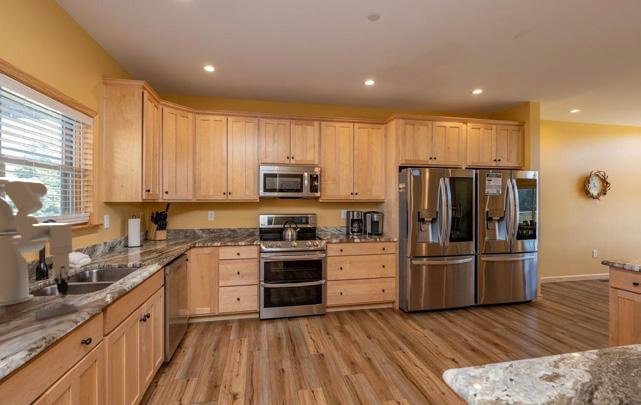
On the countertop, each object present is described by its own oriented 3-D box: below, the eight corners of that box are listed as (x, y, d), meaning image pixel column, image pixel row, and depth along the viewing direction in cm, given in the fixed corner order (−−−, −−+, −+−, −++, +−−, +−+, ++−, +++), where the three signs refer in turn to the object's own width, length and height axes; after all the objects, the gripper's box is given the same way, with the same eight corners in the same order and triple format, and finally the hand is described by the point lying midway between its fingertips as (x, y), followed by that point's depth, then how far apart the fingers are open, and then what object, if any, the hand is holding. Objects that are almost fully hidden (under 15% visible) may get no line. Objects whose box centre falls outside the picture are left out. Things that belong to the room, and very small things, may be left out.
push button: (71, 297, 127) (70, 276, 127) (55, 301, 123) (54, 278, 123) (69, 293, 132) (69, 272, 131) (54, 296, 128) (53, 275, 127)
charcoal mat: (35, 313, 117) (35, 311, 117) (73, 304, 126) (73, 303, 126) (37, 320, 109) (37, 319, 109) (77, 311, 118) (77, 310, 118)
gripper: (48, 249, 130) (49, 288, 131) (51, 253, 119) (52, 296, 119) (69, 247, 136) (70, 285, 136) (74, 251, 125) (75, 292, 125)
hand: (62, 290), depth 128 cm, fingers closed on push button, 4 cm apart
